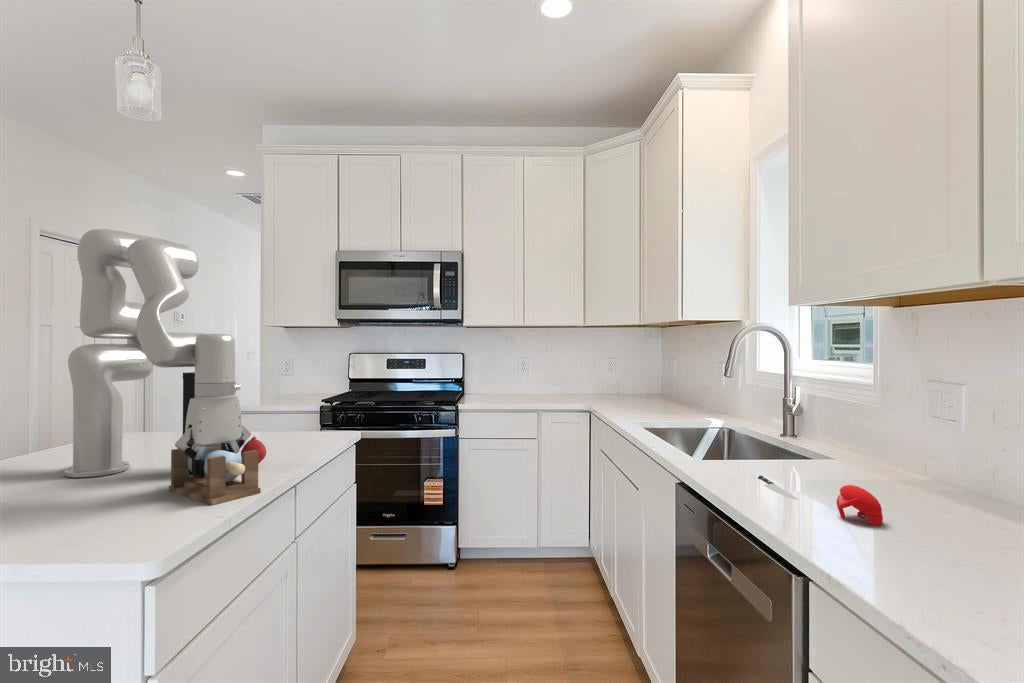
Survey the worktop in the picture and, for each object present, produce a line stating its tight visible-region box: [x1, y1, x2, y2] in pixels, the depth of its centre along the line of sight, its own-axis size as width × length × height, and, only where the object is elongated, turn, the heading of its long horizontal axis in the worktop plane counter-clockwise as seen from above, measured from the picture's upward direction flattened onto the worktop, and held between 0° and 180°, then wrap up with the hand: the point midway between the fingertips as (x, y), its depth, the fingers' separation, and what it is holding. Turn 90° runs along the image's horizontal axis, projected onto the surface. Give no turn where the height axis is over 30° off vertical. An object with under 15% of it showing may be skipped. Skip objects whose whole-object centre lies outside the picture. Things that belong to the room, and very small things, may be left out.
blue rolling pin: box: [187, 447, 245, 482], centre depth 110 cm, size 19×6×6 cm, turn 57°
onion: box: [240, 435, 267, 465], centre depth 132 cm, size 6×6×8 cm
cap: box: [836, 484, 884, 527], centre depth 95 cm, size 8×6×6 cm
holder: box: [168, 443, 262, 506], centre depth 110 cm, size 18×10×9 cm, turn 57°
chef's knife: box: [757, 475, 800, 501], centre depth 115 cm, size 19×1×3 cm
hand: (214, 473), depth 110 cm, fingers closed on blue rolling pin, 6 cm apart
